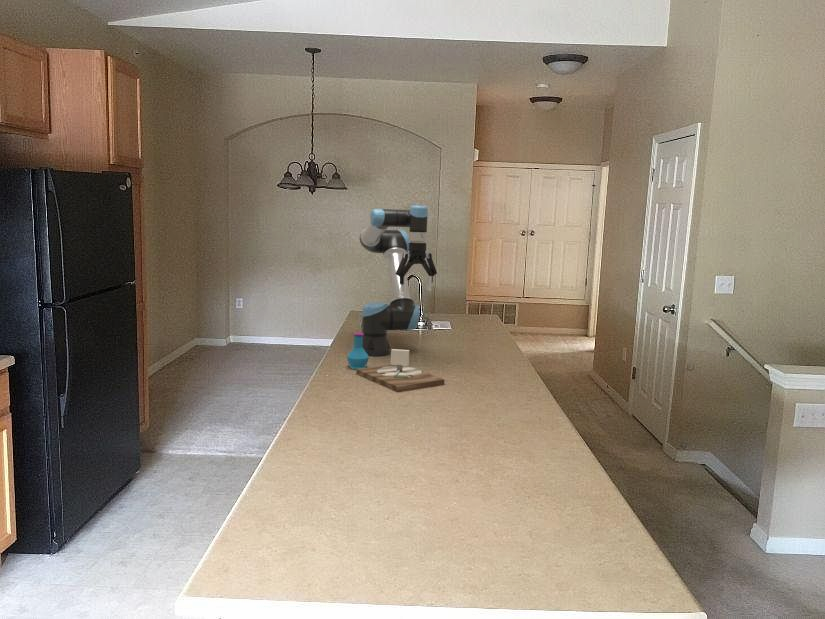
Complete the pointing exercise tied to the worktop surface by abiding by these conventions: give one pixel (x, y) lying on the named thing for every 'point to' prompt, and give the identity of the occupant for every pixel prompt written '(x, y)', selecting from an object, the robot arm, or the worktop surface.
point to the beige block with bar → (399, 359)
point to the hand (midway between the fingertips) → (416, 291)
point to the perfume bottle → (358, 353)
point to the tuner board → (400, 377)
